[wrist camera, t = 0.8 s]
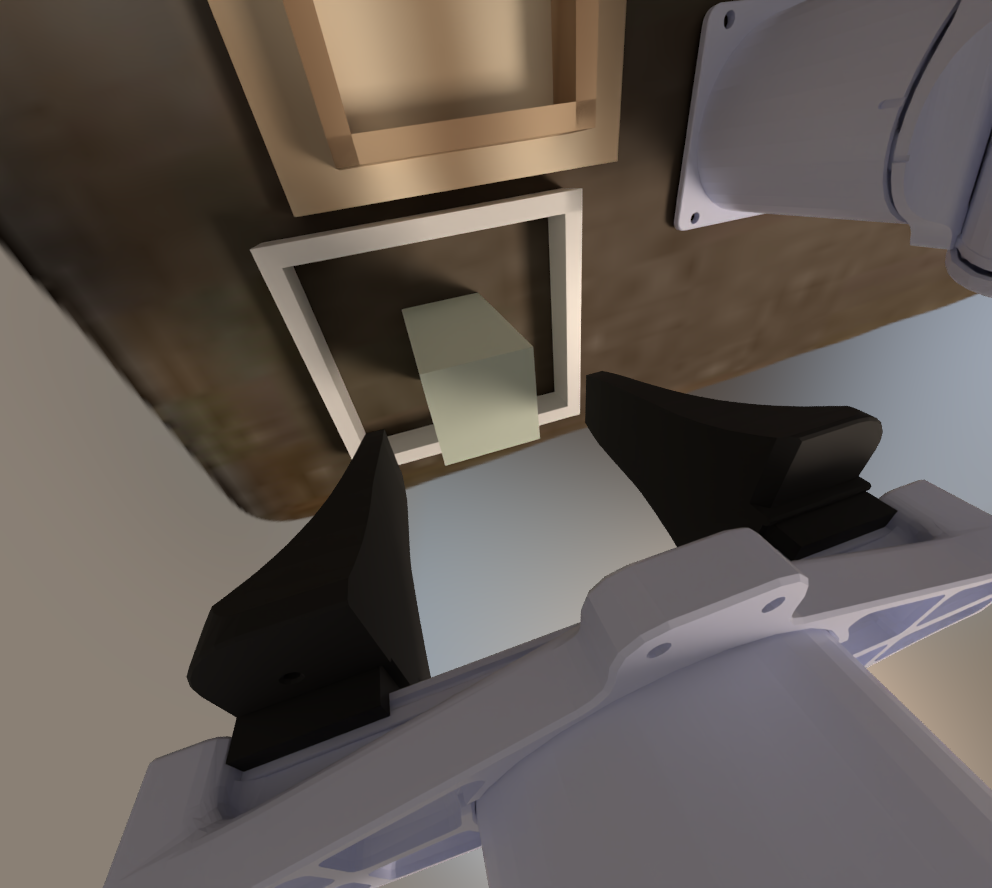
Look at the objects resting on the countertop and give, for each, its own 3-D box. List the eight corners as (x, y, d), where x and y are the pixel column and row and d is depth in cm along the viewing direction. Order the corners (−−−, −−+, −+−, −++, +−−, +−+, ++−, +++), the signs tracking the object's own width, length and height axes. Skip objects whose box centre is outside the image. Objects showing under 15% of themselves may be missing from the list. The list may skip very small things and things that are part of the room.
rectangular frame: (562, 188, 17) (582, 188, 16) (566, 399, 24) (579, 413, 23) (261, 242, 15) (249, 249, 14) (360, 455, 22) (360, 475, 21)
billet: (478, 292, 19) (533, 346, 13) (488, 363, 21) (539, 438, 15) (401, 309, 18) (419, 374, 12) (421, 380, 21) (445, 465, 14)
